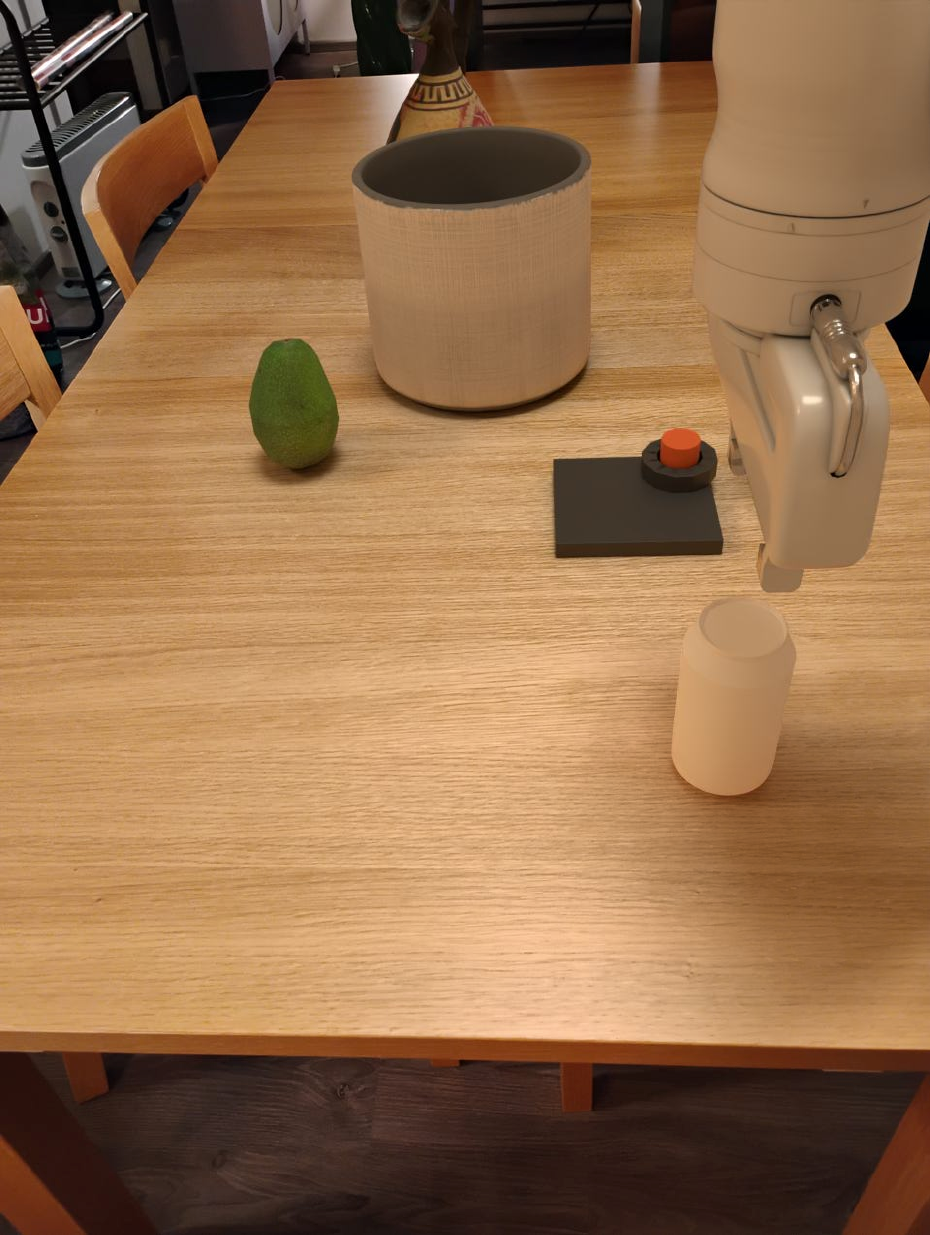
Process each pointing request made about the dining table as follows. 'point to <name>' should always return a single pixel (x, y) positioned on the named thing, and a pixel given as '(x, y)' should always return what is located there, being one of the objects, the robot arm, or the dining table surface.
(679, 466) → the button
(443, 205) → the planter
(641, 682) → the dining table surface
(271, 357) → the avocado
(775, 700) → the beverage can
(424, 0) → the ceramic jug
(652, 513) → the scale
